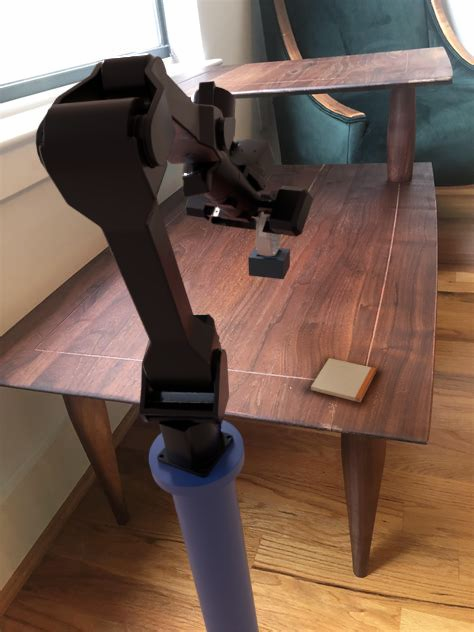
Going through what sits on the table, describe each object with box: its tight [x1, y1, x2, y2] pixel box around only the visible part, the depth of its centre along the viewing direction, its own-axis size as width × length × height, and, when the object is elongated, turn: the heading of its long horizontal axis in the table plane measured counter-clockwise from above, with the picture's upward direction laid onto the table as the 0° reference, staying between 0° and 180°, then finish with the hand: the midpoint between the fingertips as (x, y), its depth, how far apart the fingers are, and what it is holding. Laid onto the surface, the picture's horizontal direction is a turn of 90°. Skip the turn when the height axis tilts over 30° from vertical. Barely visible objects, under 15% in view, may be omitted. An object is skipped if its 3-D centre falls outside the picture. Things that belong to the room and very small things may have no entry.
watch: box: [247, 212, 291, 280], centre depth 83 cm, size 6×8×11 cm
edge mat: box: [310, 357, 377, 403], centre depth 69 cm, size 6×6×1 cm
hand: (270, 229), depth 83 cm, fingers closed on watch, 5 cm apart
